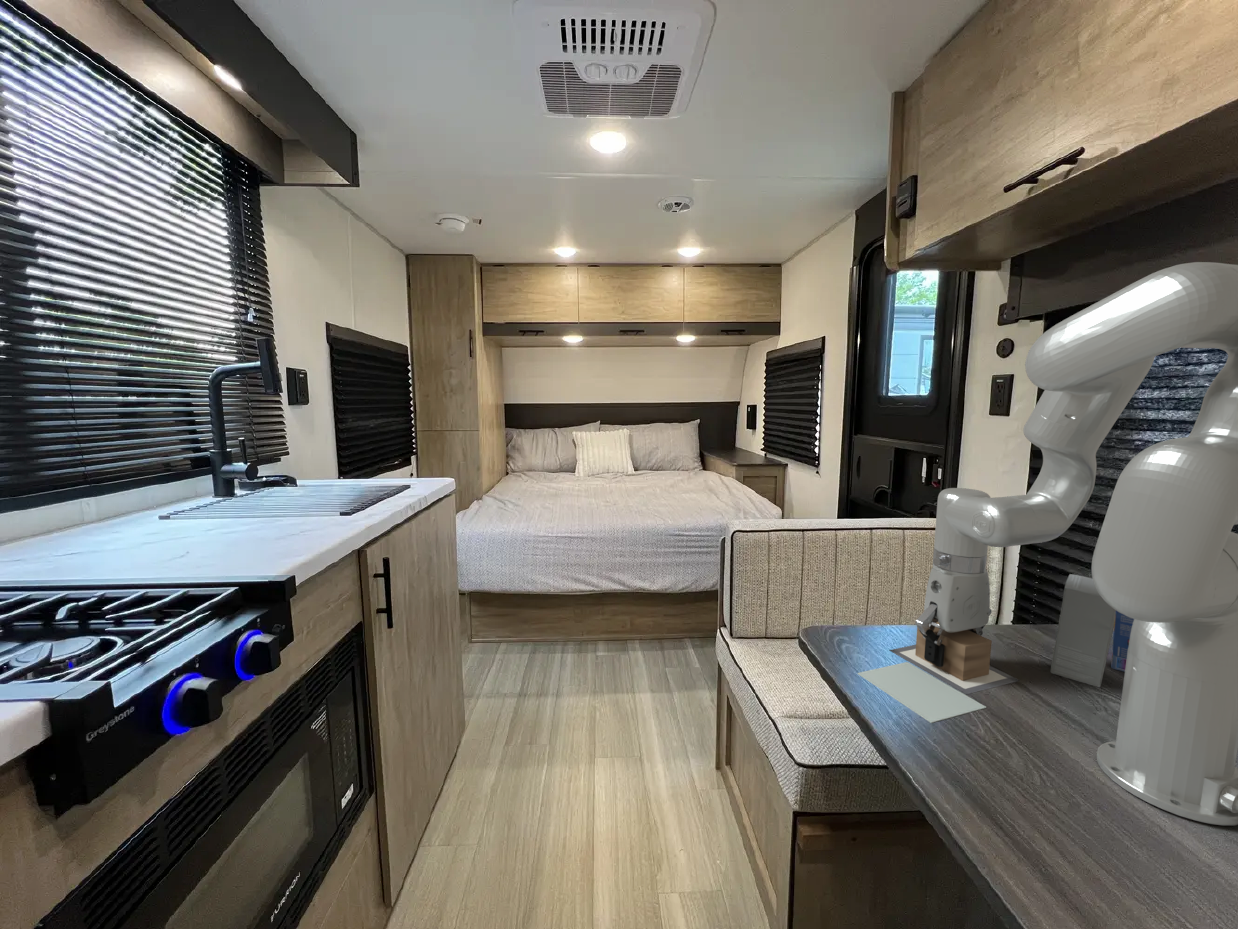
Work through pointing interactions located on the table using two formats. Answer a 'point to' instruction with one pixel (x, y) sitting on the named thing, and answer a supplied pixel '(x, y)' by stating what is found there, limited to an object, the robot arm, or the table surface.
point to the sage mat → (921, 692)
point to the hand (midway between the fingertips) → (950, 658)
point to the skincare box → (1083, 632)
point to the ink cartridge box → (1121, 641)
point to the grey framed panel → (966, 686)
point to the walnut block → (961, 653)
